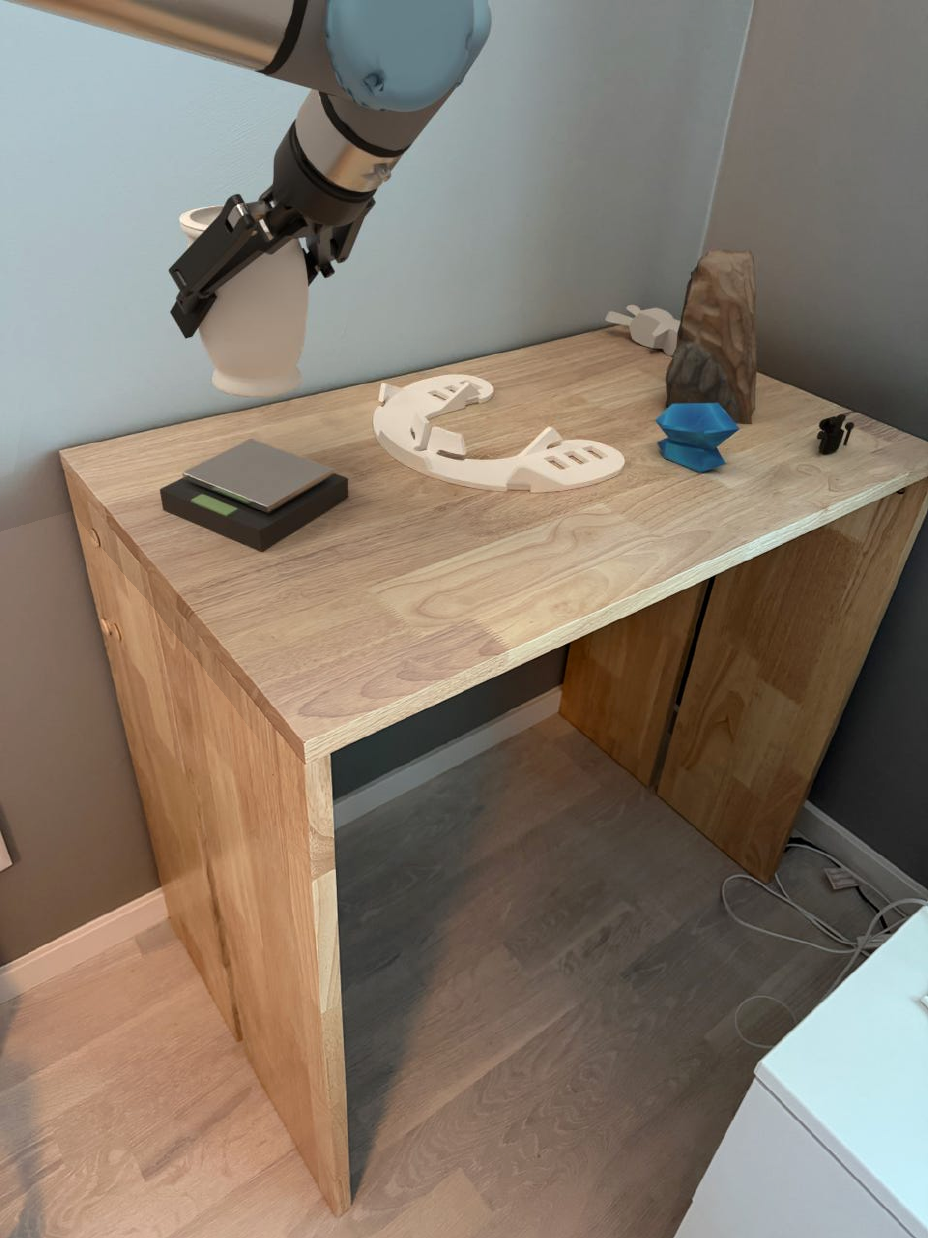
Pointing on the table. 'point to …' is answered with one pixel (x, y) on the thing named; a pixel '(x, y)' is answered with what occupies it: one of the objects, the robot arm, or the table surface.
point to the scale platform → (258, 475)
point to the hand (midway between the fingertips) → (232, 311)
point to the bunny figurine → (649, 327)
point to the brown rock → (717, 337)
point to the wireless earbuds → (833, 433)
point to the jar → (255, 318)
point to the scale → (251, 511)
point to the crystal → (695, 434)
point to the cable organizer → (418, 405)
